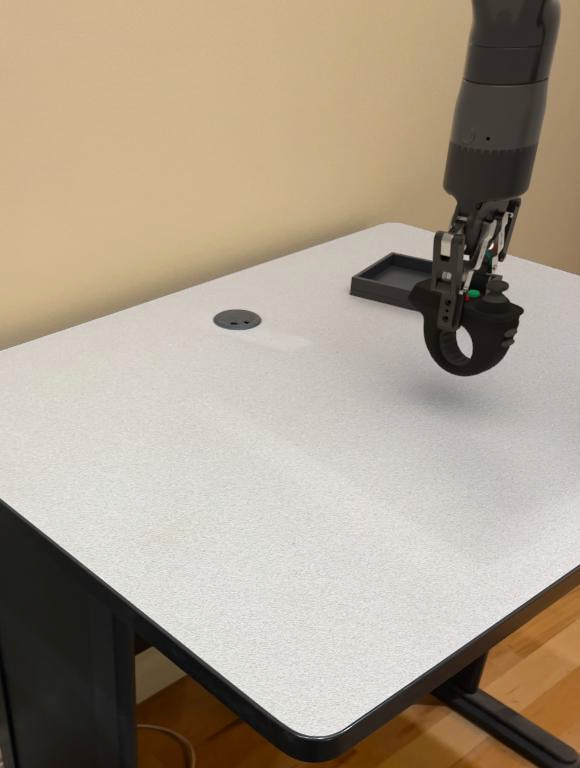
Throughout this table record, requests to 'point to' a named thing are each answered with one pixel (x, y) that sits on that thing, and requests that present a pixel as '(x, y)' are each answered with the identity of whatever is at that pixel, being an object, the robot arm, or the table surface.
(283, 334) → the table surface
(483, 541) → the table surface
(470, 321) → the controller
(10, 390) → the table surface
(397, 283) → the dock
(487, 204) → the robot arm
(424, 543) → the table surface
